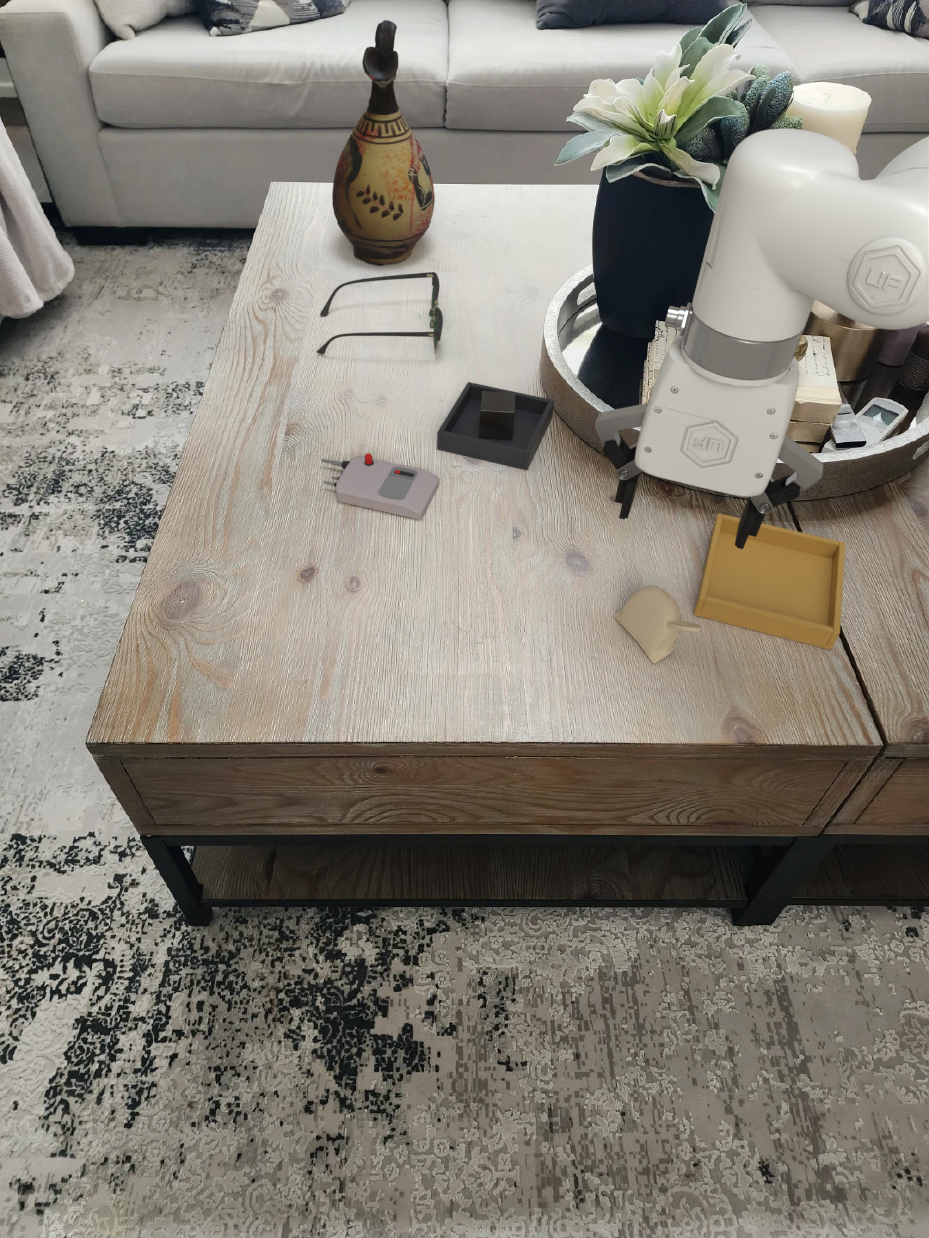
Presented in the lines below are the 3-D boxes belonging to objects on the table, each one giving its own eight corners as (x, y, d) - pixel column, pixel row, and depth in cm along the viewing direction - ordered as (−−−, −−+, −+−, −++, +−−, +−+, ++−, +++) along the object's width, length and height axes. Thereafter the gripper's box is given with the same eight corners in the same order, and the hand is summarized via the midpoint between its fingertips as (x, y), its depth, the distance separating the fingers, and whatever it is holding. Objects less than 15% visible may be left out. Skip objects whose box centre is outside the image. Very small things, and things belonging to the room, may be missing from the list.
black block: (513, 420, 104) (515, 392, 101) (512, 440, 101) (514, 412, 98) (480, 418, 104) (482, 390, 101) (479, 438, 101) (480, 410, 98)
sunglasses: (321, 305, 123) (317, 271, 119) (438, 303, 124) (438, 270, 120) (315, 368, 112) (311, 333, 108) (444, 365, 113) (444, 331, 109)
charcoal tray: (552, 417, 105) (554, 400, 104) (527, 470, 98) (529, 453, 97) (467, 398, 108) (468, 381, 106) (437, 449, 101) (437, 432, 99)
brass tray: (837, 559, 90) (845, 542, 88) (830, 650, 81) (840, 633, 79) (712, 530, 92) (717, 512, 90) (693, 614, 84) (699, 597, 82)
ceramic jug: (433, 276, 129) (432, 46, 107) (331, 273, 129) (309, 43, 106) (436, 227, 140) (436, 10, 118) (343, 224, 140) (325, 6, 118)
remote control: (436, 524, 92) (436, 503, 90) (303, 495, 95) (300, 473, 92) (455, 487, 96) (455, 466, 94) (327, 459, 99) (324, 438, 97)
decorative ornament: (646, 602, 85) (656, 564, 81) (696, 661, 80) (710, 624, 76) (612, 615, 84) (621, 577, 80) (661, 676, 79) (673, 639, 75)
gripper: (604, 339, 57) (571, 526, 70) (869, 395, 54) (783, 580, 67) (627, 288, 62) (592, 472, 75) (872, 336, 59) (791, 520, 71)
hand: (682, 523), depth 71 cm, fingers open, 9 cm apart
